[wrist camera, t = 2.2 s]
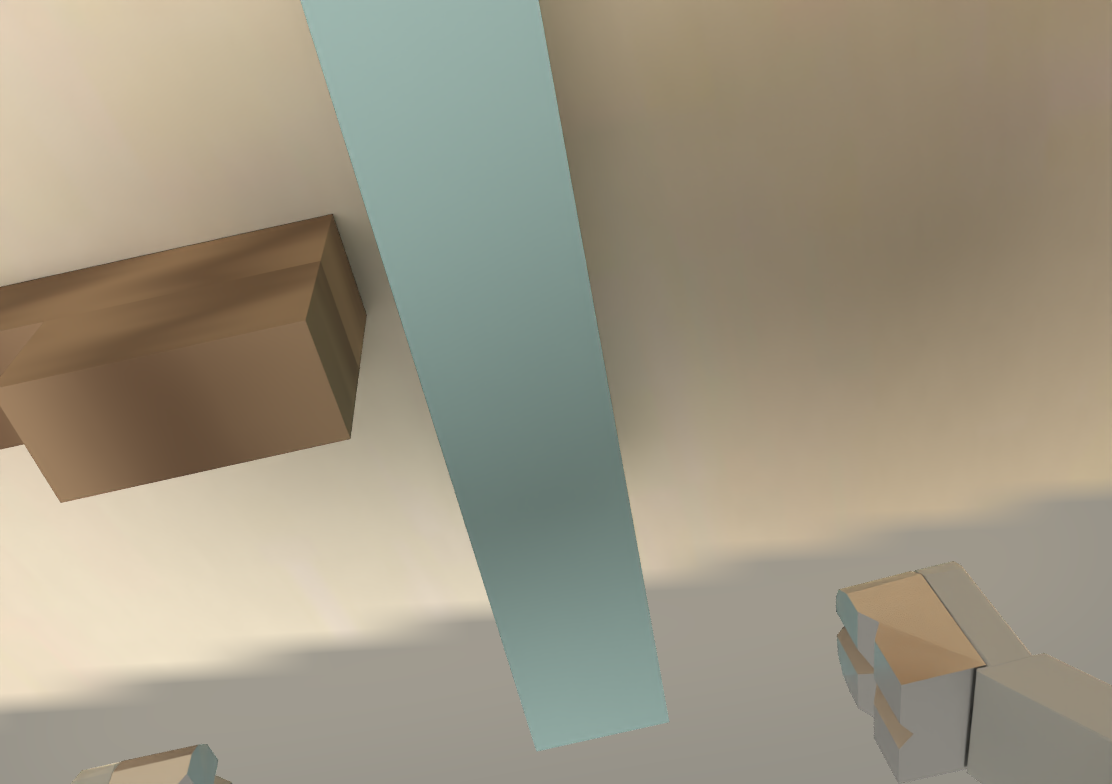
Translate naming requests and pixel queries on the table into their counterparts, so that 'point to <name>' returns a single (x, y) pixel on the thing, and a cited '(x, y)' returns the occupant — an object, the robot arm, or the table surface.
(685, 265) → the table surface
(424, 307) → the teal plate
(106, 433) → the walnut notched block
